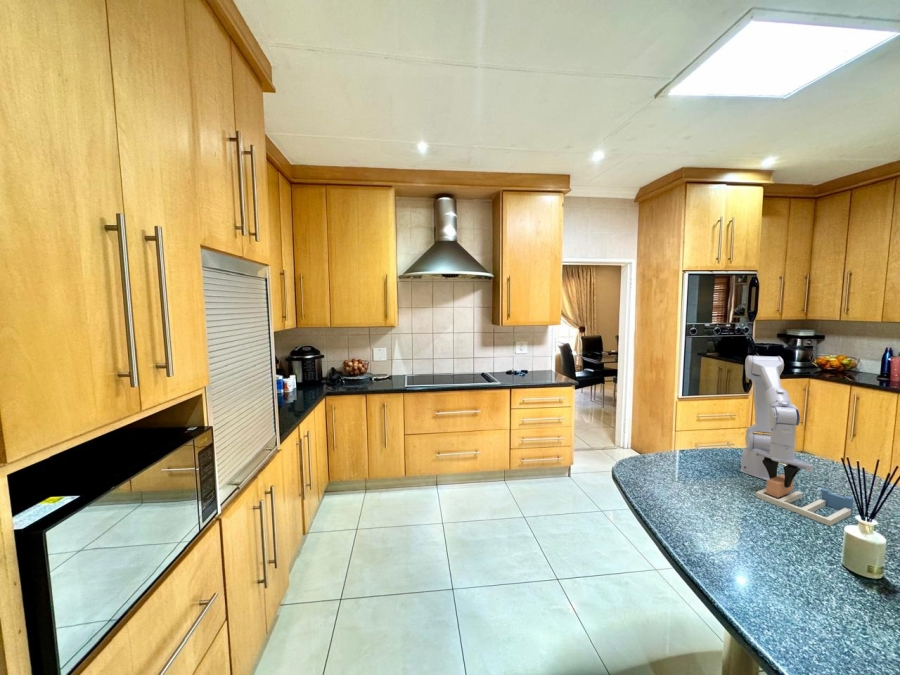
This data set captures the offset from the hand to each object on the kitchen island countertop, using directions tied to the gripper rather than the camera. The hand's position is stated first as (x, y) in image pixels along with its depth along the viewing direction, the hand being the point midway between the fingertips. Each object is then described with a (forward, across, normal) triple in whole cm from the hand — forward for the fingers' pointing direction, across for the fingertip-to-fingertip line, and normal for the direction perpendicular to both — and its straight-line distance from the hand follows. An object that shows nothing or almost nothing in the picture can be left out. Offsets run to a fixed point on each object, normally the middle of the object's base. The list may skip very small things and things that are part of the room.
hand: (780, 484), depth 114 cm
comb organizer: (+4, +6, 0) cm, 7 cm away
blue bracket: (+4, +11, +7) cm, 14 cm away
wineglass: (+5, -12, +33) cm, 35 cm away
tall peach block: (+3, 0, 0) cm, 3 cm away
